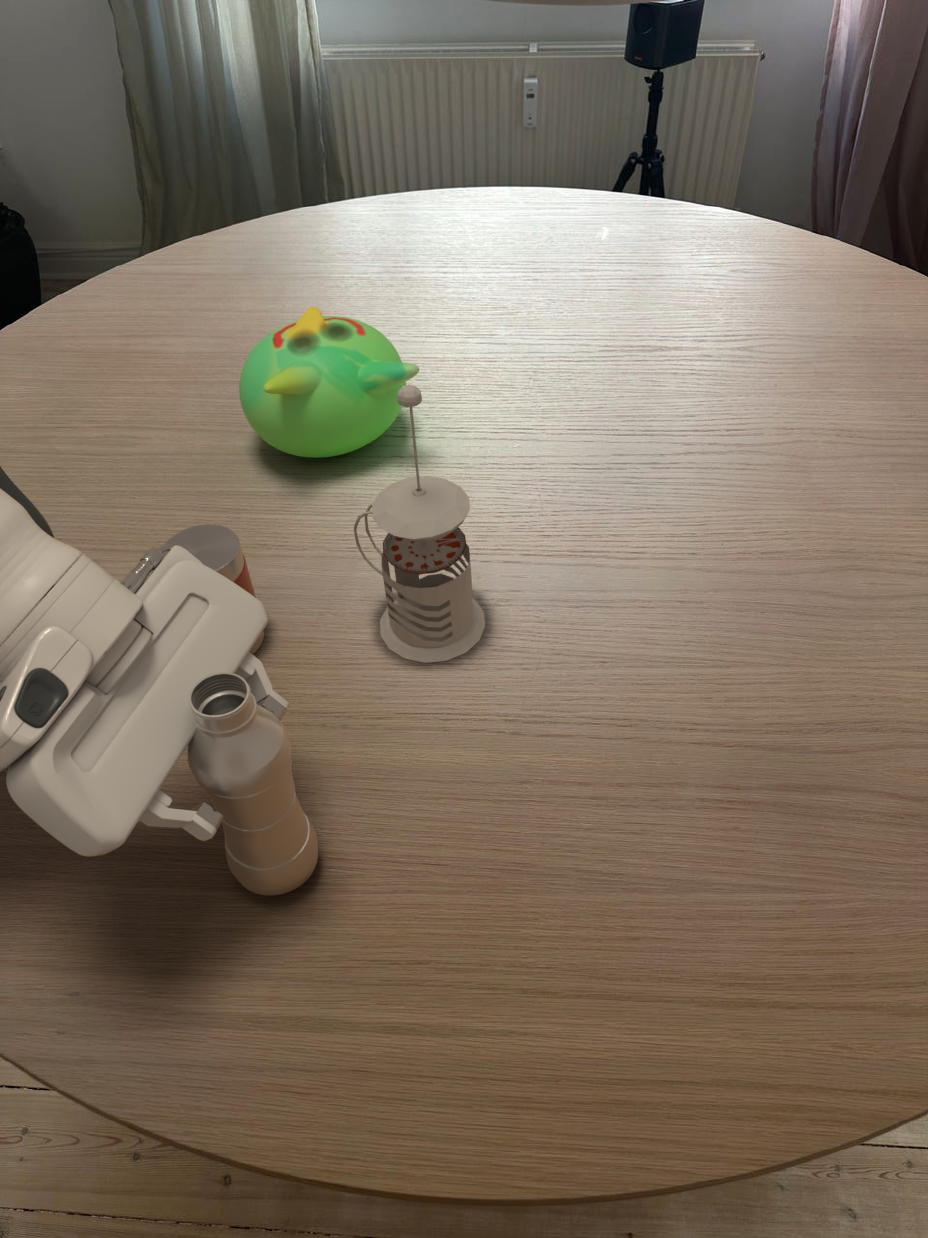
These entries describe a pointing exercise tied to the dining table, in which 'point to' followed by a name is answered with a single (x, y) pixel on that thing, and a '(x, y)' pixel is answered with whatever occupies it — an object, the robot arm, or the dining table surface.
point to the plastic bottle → (250, 786)
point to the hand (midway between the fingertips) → (249, 770)
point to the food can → (218, 556)
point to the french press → (425, 563)
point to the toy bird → (322, 385)
